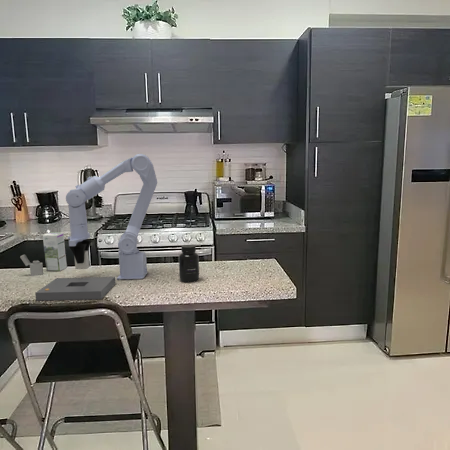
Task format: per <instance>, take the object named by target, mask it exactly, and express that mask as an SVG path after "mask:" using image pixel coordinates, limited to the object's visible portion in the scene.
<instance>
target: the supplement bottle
mask: <svg viewBox="0 0 450 450" xmlns="http://www.w3.org/2000/svg"><path fill="white" fill-rule="evenodd" d="M196 247H197V246H196V245H194V244H184V245H182V246H181V253H180V254H179V256H178V269H179V271H178V272H179V275H178V276H179V281H180V282H183V283H194V281H195V282H198V281H199V280H200V259H199V257H200V256H199V254H198V253H197V251H196V249H197V248H196ZM197 280H198V281H197Z"/></svg>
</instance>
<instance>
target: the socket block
mask: <svg viewBox="0 0 450 450" xmlns="http://www.w3.org/2000/svg"><path fill="white" fill-rule="evenodd" d="M116 283H117V282H116V276H94V277H93V276H90V277H89V276H88V277H86V276H85V277H56V278H55V279H53V280H51V281H50V282H49V283H47V284H46V285H45V286H42V287H41V288H40V289H39V290H37V291H36V292H35V301H36V302H37V301H38V302H39V301H40V302H41V301H74V300H77V301H79V300H103V298H104V297H105V296H106V295H107V294H108V293H109V292H110V291H111V290H112V289H113V287H114V286H115V285H116Z"/></svg>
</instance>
